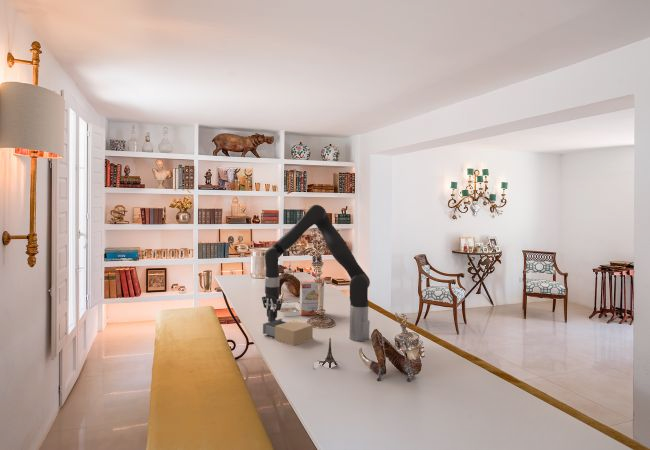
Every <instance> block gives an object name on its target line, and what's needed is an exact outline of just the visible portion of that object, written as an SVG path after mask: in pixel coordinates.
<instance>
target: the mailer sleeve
mask: <svg viewBox="0 0 650 450" xmlns="http://www.w3.org/2000/svg"><path fill="white" fill-rule="evenodd" d="M286 322H287V323H283V324H280V325H276V326H275V337H274V340H275V341H279V342H281V343H285V344H287V345H290V346H296V345H300V344H302V343H304V342H307V341H310V340H312V339H314V338H313V336H314V335H313V334H314V331H313V330H314V329H313V327H314V325H313V324H310V323H306V322H302V321H298V320H295V319H294V320H291V321H286Z"/></svg>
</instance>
